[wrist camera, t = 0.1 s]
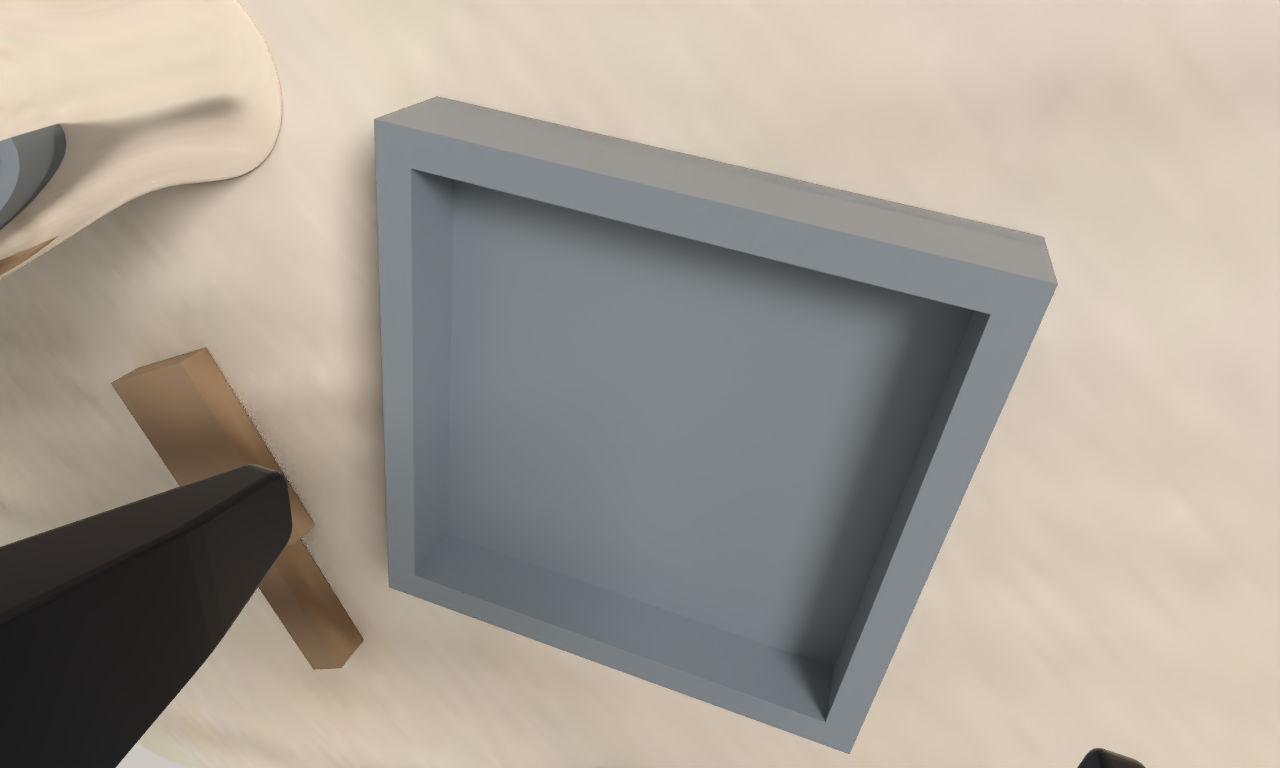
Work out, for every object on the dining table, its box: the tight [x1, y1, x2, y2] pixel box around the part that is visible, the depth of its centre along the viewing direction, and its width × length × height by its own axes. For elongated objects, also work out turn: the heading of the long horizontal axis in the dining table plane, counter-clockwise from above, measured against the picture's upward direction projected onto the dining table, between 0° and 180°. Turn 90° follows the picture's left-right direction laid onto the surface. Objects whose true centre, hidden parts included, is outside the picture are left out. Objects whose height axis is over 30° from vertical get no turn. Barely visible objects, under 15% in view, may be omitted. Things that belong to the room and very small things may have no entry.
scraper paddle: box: [111, 348, 363, 669], centre depth 33 cm, size 14×4×2 cm, turn 22°
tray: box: [374, 97, 1058, 754], centre depth 24 cm, size 16×16×3 cm
